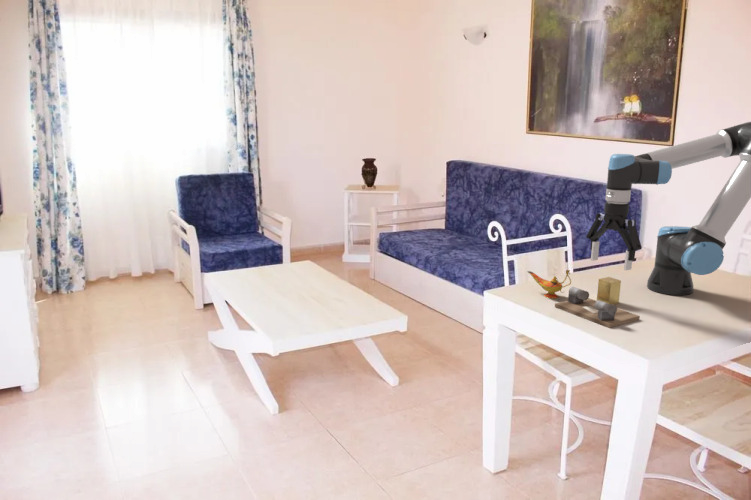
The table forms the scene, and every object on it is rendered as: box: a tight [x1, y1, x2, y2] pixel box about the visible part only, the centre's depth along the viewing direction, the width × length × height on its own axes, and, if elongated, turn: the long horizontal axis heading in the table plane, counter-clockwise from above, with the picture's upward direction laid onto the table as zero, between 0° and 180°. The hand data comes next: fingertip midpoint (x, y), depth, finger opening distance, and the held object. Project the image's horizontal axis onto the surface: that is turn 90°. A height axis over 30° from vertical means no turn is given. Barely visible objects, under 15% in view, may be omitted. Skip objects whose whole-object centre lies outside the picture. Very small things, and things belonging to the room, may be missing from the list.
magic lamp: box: [527, 269, 572, 299], centre depth 216 cm, size 7×18×11 cm, turn 40°
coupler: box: [596, 276, 622, 305], centre depth 209 cm, size 5×5×8 cm
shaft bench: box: [554, 286, 640, 329], centre depth 199 cm, size 22×14×6 cm, turn 30°
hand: (610, 264), depth 207 cm, fingers open, 13 cm apart
